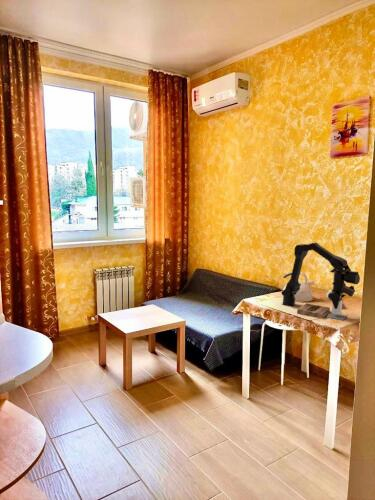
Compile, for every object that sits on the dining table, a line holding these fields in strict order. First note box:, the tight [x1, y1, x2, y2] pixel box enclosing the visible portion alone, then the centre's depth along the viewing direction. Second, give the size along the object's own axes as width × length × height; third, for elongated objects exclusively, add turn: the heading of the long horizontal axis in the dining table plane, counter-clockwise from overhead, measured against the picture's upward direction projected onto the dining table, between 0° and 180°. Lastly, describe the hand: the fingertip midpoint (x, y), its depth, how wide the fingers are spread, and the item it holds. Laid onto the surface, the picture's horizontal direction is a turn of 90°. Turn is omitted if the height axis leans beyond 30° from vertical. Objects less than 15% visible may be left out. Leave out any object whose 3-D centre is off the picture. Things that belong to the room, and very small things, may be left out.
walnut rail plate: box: [296, 303, 331, 319], centre depth 211 cm, size 14×16×2 cm
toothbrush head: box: [325, 289, 344, 309], centre depth 233 cm, size 5×7×25 cm
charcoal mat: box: [325, 312, 347, 322], centre depth 204 cm, size 9×9×1 cm
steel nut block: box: [331, 298, 343, 315], centre depth 203 cm, size 4×4×8 cm
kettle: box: [281, 271, 315, 303], centre depth 243 cm, size 20×21×18 cm
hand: (337, 307), depth 203 cm, fingers closed on steel nut block, 4 cm apart
